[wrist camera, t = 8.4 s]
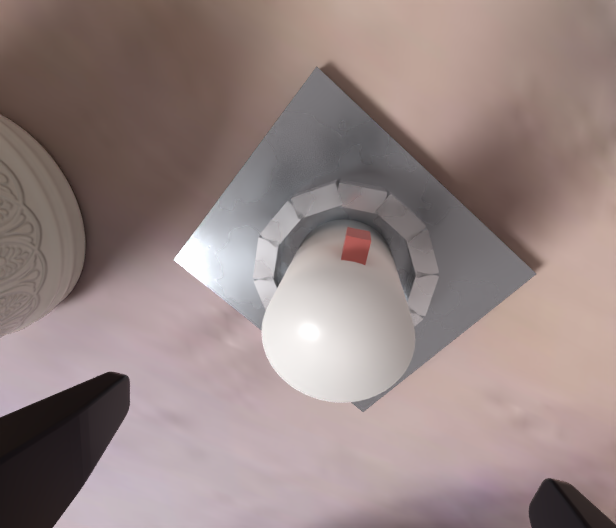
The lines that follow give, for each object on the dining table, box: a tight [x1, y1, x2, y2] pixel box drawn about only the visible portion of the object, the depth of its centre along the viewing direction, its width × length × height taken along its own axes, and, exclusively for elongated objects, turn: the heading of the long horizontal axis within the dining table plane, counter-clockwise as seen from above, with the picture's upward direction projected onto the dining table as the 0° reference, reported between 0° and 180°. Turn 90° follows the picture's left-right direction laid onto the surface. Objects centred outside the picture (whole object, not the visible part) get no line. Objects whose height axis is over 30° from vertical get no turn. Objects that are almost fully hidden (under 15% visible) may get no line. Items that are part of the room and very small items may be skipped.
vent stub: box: [262, 219, 415, 403], centre depth 15 cm, size 6×5×7 cm
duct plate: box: [174, 67, 536, 412], centre depth 18 cm, size 14×12×2 cm
